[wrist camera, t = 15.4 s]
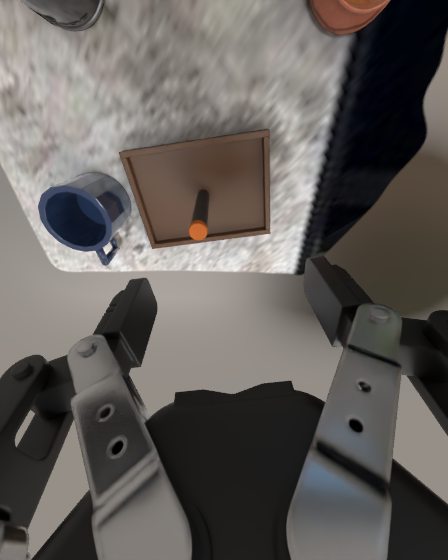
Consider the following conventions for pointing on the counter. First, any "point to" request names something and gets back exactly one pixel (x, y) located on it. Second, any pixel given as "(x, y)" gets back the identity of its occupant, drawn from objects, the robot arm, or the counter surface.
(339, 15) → the potted flower
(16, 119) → the counter surface
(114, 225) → the mug
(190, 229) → the marker
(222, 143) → the tray
